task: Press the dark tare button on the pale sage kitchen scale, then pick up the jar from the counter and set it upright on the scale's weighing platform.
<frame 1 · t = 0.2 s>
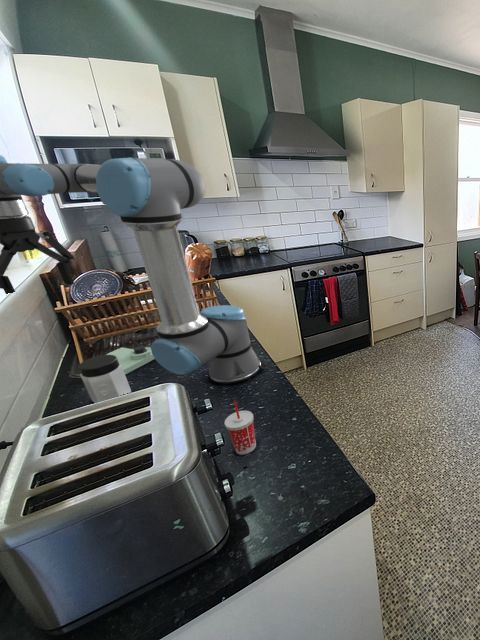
hand: (43, 290, 102), 28 cm above the counter, tool pointing down, fingers open, 13 cm apart
tare button: (140, 350, 119), point 4 cm above the counter, slide at 0.1 cm
beverage cup: (246, 448, 86), on the counter
jar: (112, 397, 102), on the counter
scale: (123, 363, 118), on the counter
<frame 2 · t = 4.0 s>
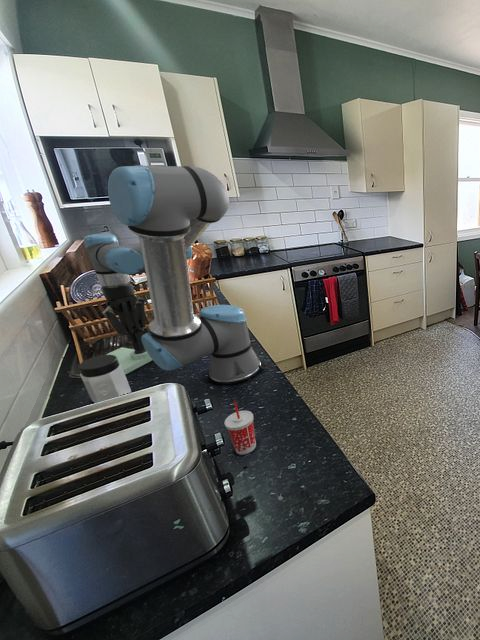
hand: (139, 349, 119), 4 cm above the counter, tool pointing down, fingers closed
tare button: (140, 352, 119), point 3 cm above the counter, slide at -0.7 cm, touching gripper
everything else where it was.
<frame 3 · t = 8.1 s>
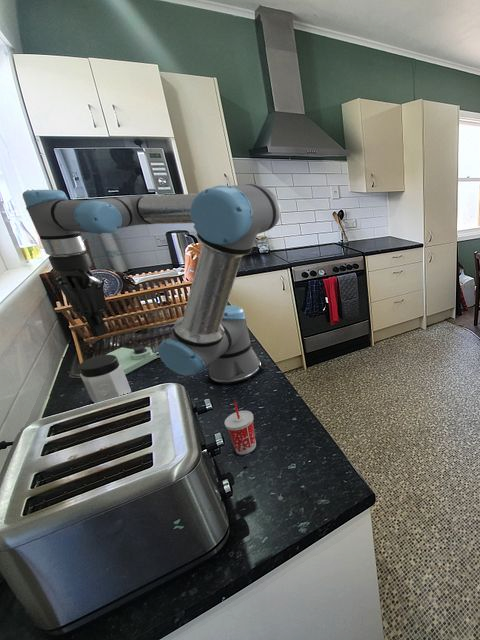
hand: (100, 334, 99), 18 cm above the counter, tool pointing down, fingers closed
tare button: (140, 350, 119), point 4 cm above the counter, slide at 0.1 cm
everything else where it was.
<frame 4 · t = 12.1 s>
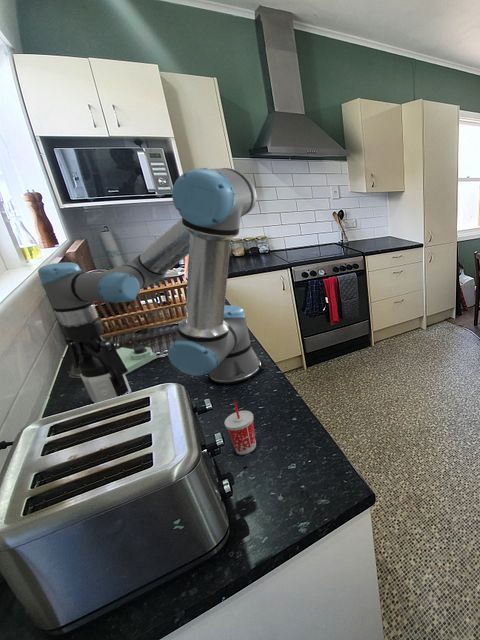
hand: (110, 391, 101), 2 cm above the counter, tool pointing down, fingers closed on jar, 9 cm apart
jar: (112, 397, 102), on the counter, touching gripper
everything else where it was.
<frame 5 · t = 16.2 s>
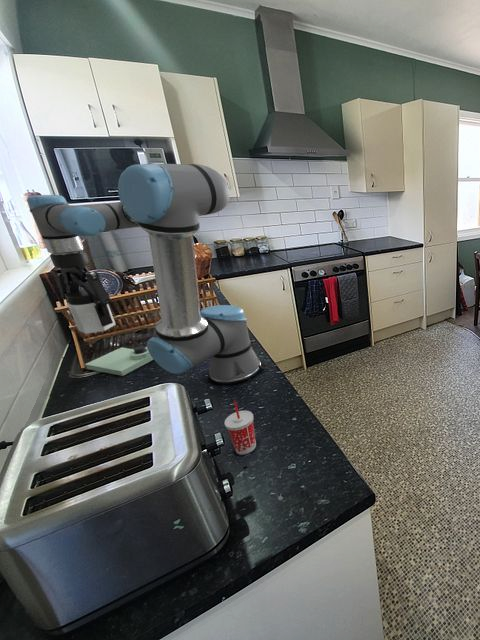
hand: (95, 322, 109), 17 cm above the counter, tool pointing down, fingers closed on jar, 9 cm apart
jar: (97, 328, 110), point 14 cm above the counter, touching gripper
everything else where it was.
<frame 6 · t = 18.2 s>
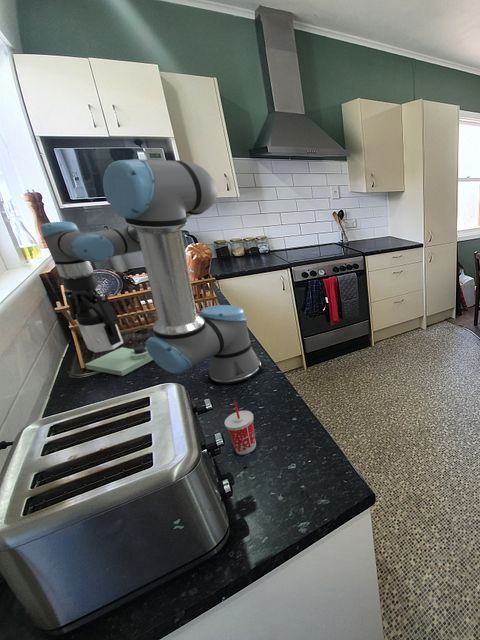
hand: (104, 341, 114), 9 cm above the counter, tool pointing down, fingers closed on jar, 9 cm apart
jar: (106, 346, 114), point 7 cm above the counter, touching gripper
everything else where it was.
when the fingers open (4 cm above the counter, at t = 20.2 s): jar stays where it is, resting on scale.
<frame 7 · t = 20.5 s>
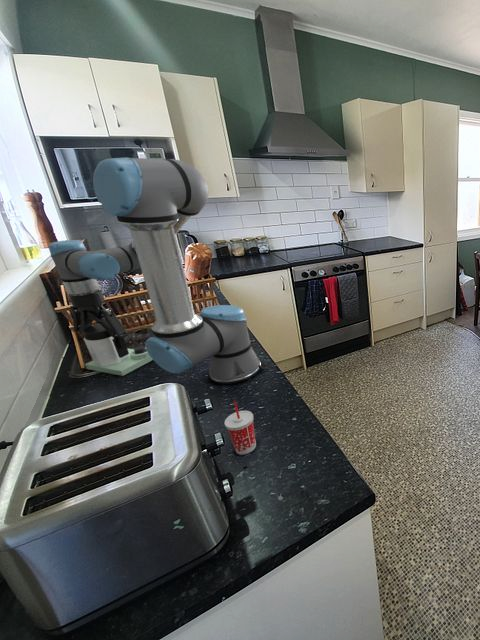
hand: (109, 353, 115), 5 cm above the counter, tool pointing down, fingers open, 12 cm apart
jar: (112, 360, 117), point 2 cm above the counter, touching scale
everything else where it was.
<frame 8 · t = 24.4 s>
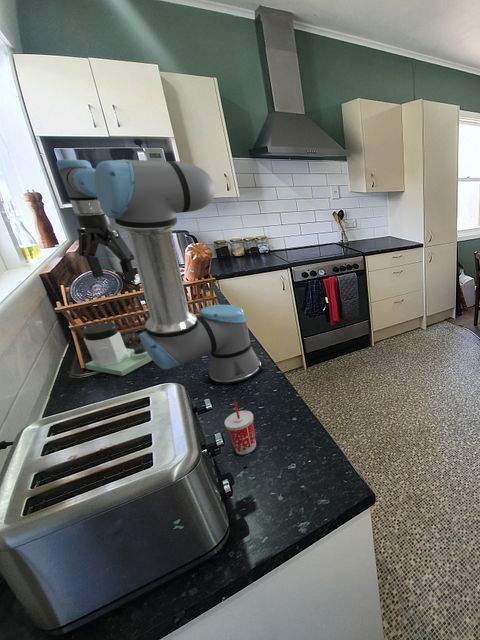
hand: (115, 278, 117), 27 cm above the counter, tool pointing down, fingers open, 13 cm apart
nothing on the counter moved.
at the end: tare button pushed in 0.8 cm at the most during the clip, back to where it started at the end; jar inside the target area on the scale (2.5 cm from its centre), point 1.7 cm above the scale's base; jar touching scale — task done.
